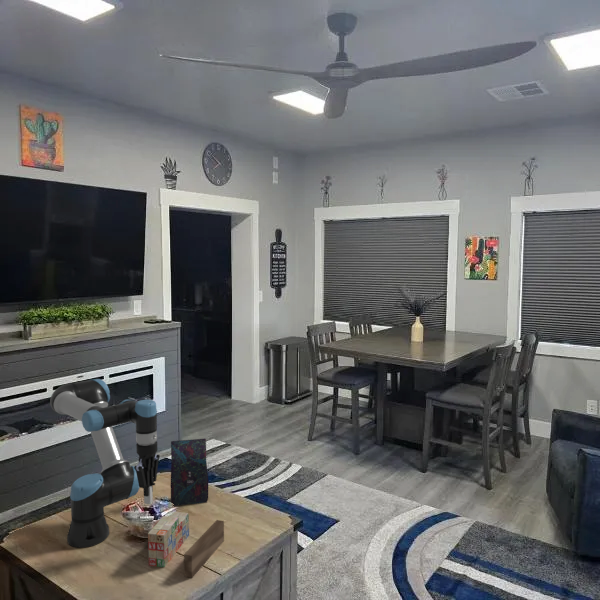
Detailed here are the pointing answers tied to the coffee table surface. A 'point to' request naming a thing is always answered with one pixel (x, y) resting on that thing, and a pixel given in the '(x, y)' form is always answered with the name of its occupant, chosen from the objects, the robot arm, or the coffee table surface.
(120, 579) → the coffee table surface
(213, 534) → the walnut board
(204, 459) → the decorative box
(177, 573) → the coffee table surface
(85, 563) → the coffee table surface
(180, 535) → the stack of blocks
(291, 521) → the coffee table surface
